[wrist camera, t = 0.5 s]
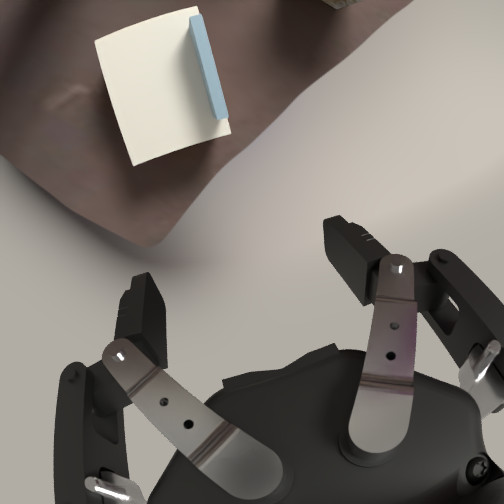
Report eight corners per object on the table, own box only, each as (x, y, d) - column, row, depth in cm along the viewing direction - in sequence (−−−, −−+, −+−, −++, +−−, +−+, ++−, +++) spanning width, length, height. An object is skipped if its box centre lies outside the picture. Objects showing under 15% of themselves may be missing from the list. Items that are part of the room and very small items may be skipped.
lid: (96, 41, 19) (81, 34, 15) (196, 7, 20) (199, -7, 16) (134, 164, 27) (126, 176, 23) (230, 132, 28) (238, 139, 24)
